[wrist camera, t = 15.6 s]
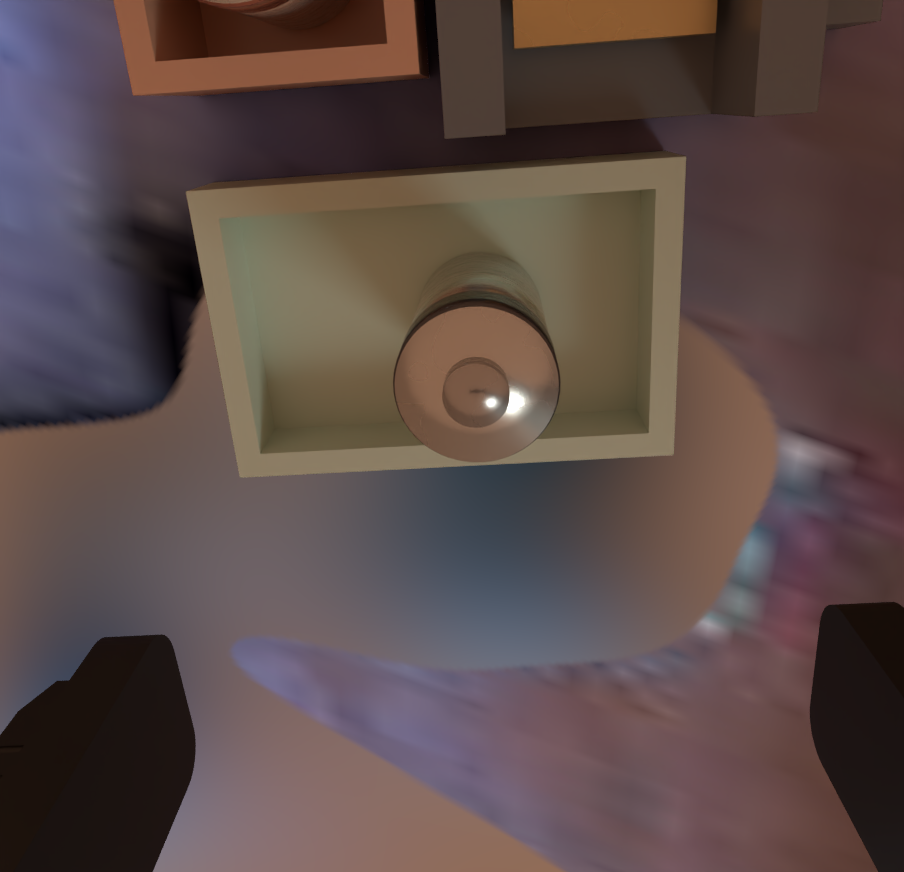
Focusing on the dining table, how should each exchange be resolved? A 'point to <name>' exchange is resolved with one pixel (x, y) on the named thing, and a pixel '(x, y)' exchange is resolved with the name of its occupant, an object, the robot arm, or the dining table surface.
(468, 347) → the cell
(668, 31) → the pad
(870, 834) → the robot arm
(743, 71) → the cradle
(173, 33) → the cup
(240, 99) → the dining table surface
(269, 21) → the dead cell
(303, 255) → the trough
